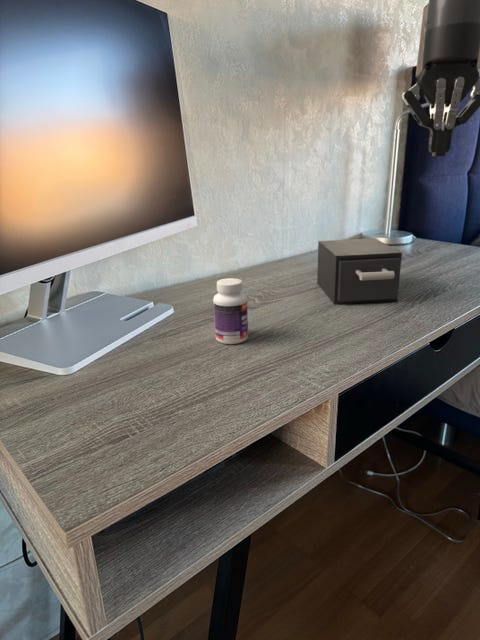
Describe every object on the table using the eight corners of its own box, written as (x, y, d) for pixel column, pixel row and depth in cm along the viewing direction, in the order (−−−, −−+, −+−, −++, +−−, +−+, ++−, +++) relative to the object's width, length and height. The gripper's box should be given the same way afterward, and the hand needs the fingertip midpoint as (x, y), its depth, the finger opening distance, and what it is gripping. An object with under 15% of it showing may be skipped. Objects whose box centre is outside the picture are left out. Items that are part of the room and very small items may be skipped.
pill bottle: (249, 344, 71) (248, 285, 67) (216, 346, 70) (212, 287, 67) (246, 331, 76) (244, 275, 72) (215, 333, 75) (211, 277, 72)
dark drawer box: (406, 305, 82) (410, 264, 79) (345, 309, 81) (347, 267, 78) (373, 279, 98) (375, 244, 95) (322, 282, 98) (323, 247, 95)
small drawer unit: (397, 300, 87) (402, 252, 84) (334, 304, 87) (336, 256, 83) (372, 280, 101) (375, 238, 97) (317, 283, 100) (318, 241, 97)
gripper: (410, 24, 61) (399, 158, 67) (514, 15, 59) (493, 155, 65) (399, 36, 68) (390, 157, 74) (492, 29, 66) (475, 153, 72)
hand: (438, 155), depth 69 cm, fingers closed
